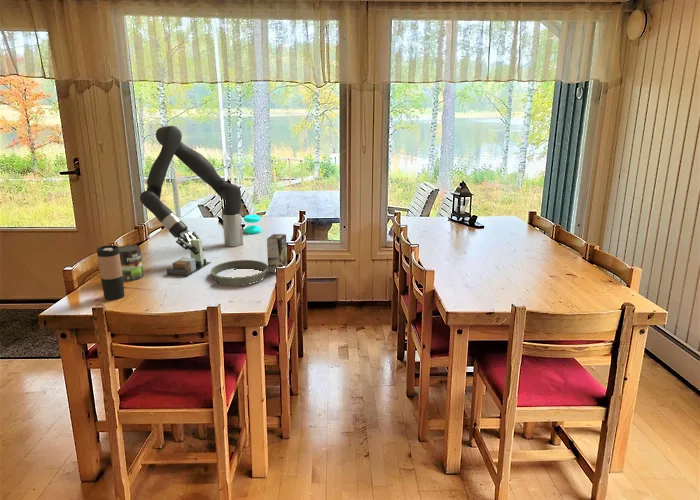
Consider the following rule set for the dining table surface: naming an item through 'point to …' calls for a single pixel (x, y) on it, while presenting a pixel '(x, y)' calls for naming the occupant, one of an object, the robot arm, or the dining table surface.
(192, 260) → the offcut
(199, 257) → the pale green block
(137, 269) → the coffee can
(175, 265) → the offcut
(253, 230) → the donuts
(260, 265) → the cake pan
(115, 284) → the travel mug
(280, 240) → the coffee box
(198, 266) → the rack
